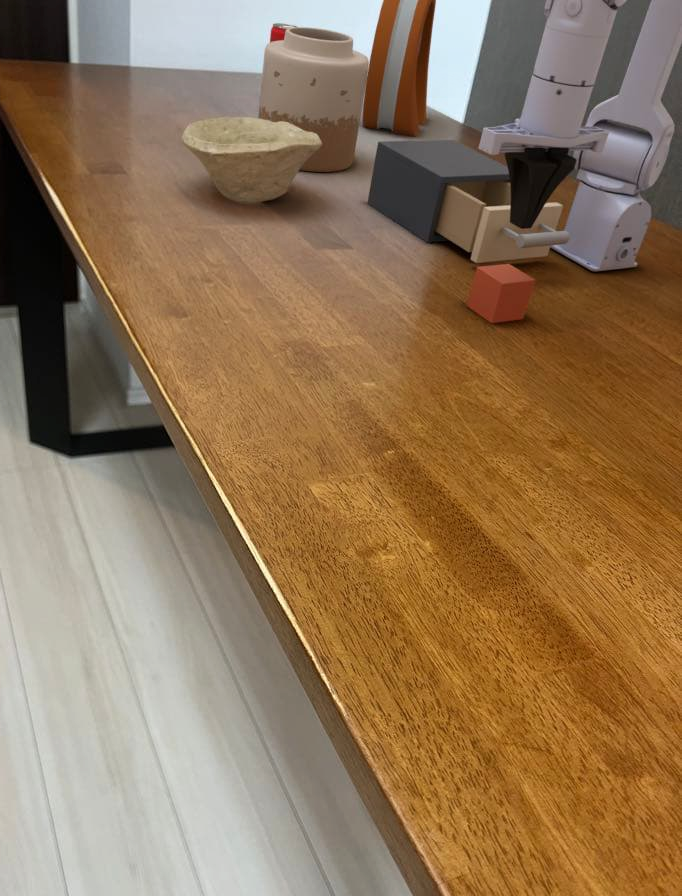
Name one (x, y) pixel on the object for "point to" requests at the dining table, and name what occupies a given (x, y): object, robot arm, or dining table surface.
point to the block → (500, 293)
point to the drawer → (494, 223)
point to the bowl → (250, 155)
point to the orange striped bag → (399, 67)
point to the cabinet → (424, 180)
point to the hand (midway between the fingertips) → (520, 225)
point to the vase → (316, 91)
